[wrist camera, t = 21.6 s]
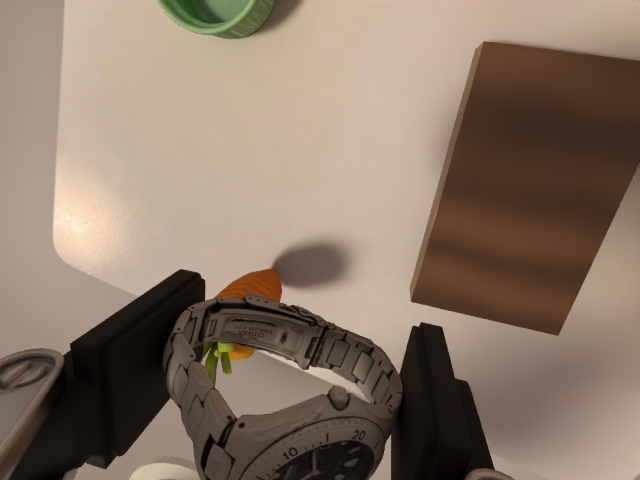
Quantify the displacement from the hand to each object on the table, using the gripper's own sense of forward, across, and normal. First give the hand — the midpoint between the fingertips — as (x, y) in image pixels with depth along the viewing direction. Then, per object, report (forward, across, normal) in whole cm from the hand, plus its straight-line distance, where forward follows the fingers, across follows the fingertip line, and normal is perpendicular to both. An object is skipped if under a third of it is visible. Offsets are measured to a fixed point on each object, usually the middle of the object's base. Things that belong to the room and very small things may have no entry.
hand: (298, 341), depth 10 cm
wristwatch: (+1, 0, 0) cm, 1 cm away
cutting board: (+21, -12, -2) cm, 25 cm away
